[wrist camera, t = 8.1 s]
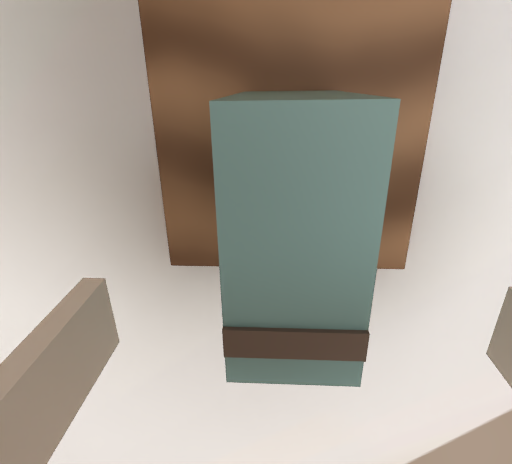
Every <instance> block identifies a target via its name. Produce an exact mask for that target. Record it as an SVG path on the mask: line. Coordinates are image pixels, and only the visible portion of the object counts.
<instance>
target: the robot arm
mask: <svg viewBox="0 0 512 464" xmlns="http://www.w3.org/2000/svg"><path fill="white" fill-rule="evenodd" d="M118 343H119V338H118V333H117V329H116V325H115V320H114V316H113V311H112V307H111V303H110V298H109V294H108V289H107V285H106V281H105V278H83V279H82V280H81V281H80V282H79V283H78V284H77V285H76V286H75V287H74V288H73V289H72V290H71V291H70V292H69V293H68V294H67V295H66V296H65V297H64V298H63V299H62V300H61V302H60V303H59V304H58V305H57V306H56V307H55V308H54V309H53V310H52V311H51V312H50V313H49V314H48V315H47V316H46V317H45V318H44V319H43V320H42V321H41V322H40V323H39V324H38V325H37V327H36V328H35V329H34V330H33V331H32V332H31V333H30V334H29V335H28V336H27V337H26V338H25V339H24V340H23V341H22V342H21V343H20V344H19V345H18V346H17V347H16V348H15V349H14V350H13V352H12V353H11V354H10V355H9V356H8V357H7V358H6V359H5V360H4V361H3V362H2V363H1V364H0V464H47V463H48V461H49V459H50V457H51V456H52V454H53V452H54V451H55V449H56V447H57V446H58V444H59V442H60V441H61V439H62V437H63V436H64V434H65V432H66V431H67V429H68V427H69V426H70V424H71V422H72V421H73V419H74V417H75V416H76V414H77V412H78V410H79V409H80V407H81V405H82V404H83V402H84V400H85V399H86V397H87V395H88V394H89V392H90V390H91V389H92V387H93V385H94V384H95V382H96V380H97V379H98V377H99V375H100V374H101V372H102V370H103V369H104V367H105V365H106V363H107V362H108V360H109V358H110V357H111V355H112V353H113V352H114V350H115V348H116V347H117V345H118ZM486 354H487V355H488V357H489V358H490V359H491V361H492V362H493V363H494V365H495V366H496V368H497V369H498V370H499V372H500V373H501V374H502V376H503V377H504V378H505V380H506V381H507V382H508V384H509V385H510V386H511V388H512V287H509V288H508V291H507V294H506V297H505V300H504V303H503V305H502V308H501V311H500V314H499V317H498V320H497V323H496V326H495V329H494V332H493V335H492V338H491V341H490V344H489V347H488V350H487V353H486Z"/></svg>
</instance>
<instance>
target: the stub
mask: <svg viewBox="0 0 512 464" xmlns="http://www.w3.org/2000/svg"><path fill="white" fill-rule="evenodd" d="M400 101H401V99H398V98H390V97H382V96H375V95H367V94H359V93H352V92H344V91H336V90H326V91H249V92H241V93H237V94H234V95H230V96H226V97H222V98H219V99H215V100H211V101H209V107H210V123H211V139H212V156H213V172H214V188H215V204H216V220H217V236H218V252H219V268H220V284H221V301H222V317H223V329H222V334H223V349H224V357H225V365H226V381H227V382H238V383H267V384H296V385H325V386H354V387H360V385H361V378H362V370H363V363H364V362H366V356H367V349H368V342H369V335H370V334H369V331H368V328H369V321H370V314H371V307H372V300H373V292H374V285H375V278H376V271H377V264H378V257H379V250H380V243H381V236H382V229H383V221H384V214H385V207H386V200H387V193H388V186H389V179H390V172H391V165H392V158H393V151H394V143H395V136H396V129H397V122H398V115H399V108H400Z"/></svg>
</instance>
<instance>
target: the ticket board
mask: <svg viewBox="0 0 512 464" xmlns="http://www.w3.org/2000/svg"><path fill="white" fill-rule="evenodd" d="M451 2H452V0H138V4H139V12H140V20H141V28H142V36H143V44H144V52H145V60H146V68H147V76H148V84H149V92H150V100H151V108H152V116H153V124H154V132H155V141H156V149H157V157H158V165H159V173H160V181H161V189H162V197H163V205H164V213H165V221H166V229H167V237H168V245H169V253H170V261H171V265H178V266H219V252H218V236H217V220H216V204H215V188H214V172H213V156H212V139H211V123H210V107H209V101H211V100H215V99H219V98H222V97H226V96H230V95H234V94H237V93H241V92H249V91H326V90H336V91H344V92H352V93H359V94H367V95H375V96H382V97H390V98H398V99H401V101H400V108H399V115H398V122H397V129H396V136H395V143H394V151H393V158H392V165H391V172H390V179H389V186H388V193H387V200H386V207H385V214H384V221H383V229H382V236H381V243H380V250H379V257H378V264H377V269H404V268H405V262H406V257H407V251H408V245H409V240H410V234H411V228H412V223H413V217H414V211H415V206H416V200H417V194H418V189H419V183H420V177H421V172H422V166H423V160H424V155H425V149H426V143H427V138H428V132H429V126H430V121H431V115H432V109H433V104H434V98H435V92H436V87H437V81H438V75H439V70H440V64H441V58H442V53H443V47H444V41H445V36H446V30H447V24H448V19H449V13H450V7H451Z"/></svg>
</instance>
